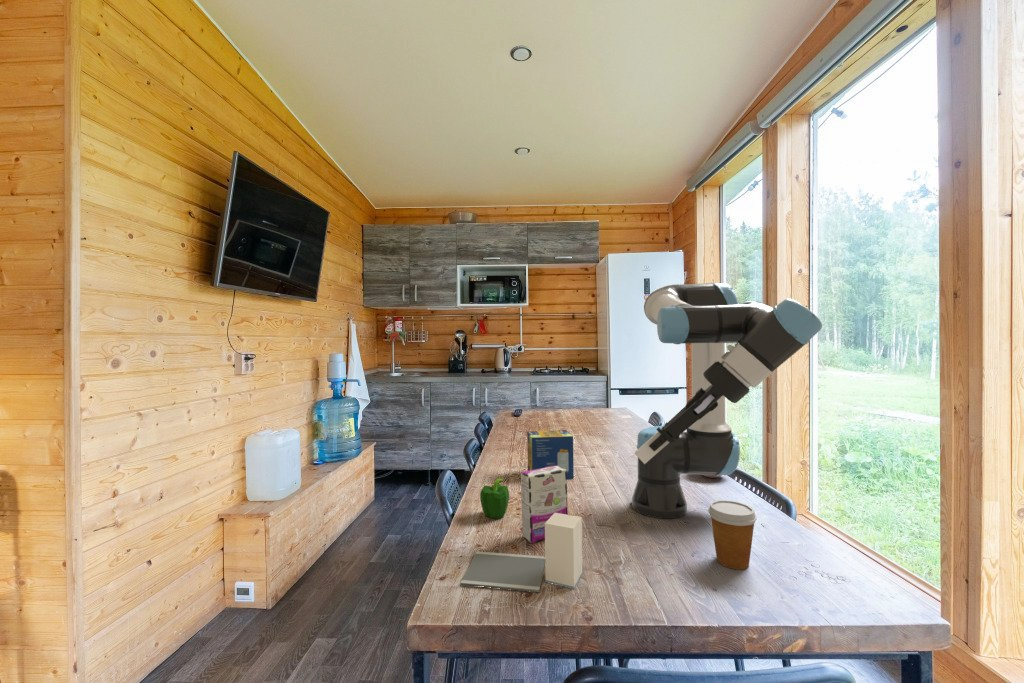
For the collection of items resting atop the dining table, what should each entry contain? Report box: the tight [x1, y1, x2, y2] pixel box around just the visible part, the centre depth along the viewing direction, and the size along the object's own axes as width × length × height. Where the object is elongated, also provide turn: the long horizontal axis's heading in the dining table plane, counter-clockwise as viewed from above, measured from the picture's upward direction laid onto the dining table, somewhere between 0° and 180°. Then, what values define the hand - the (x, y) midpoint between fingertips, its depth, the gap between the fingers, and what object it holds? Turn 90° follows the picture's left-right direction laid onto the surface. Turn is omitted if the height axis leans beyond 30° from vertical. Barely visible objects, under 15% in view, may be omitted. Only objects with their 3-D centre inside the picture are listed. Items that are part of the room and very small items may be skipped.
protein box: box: [526, 429, 575, 480], centre depth 156 cm, size 10×15×16 cm
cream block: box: [544, 513, 584, 590], centre depth 88 cm, size 6×6×12 cm
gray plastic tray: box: [459, 551, 545, 593], centre depth 91 cm, size 16×13×1 cm
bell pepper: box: [479, 478, 510, 520], centre depth 121 cm, size 8×8×10 cm
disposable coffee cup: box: [707, 499, 758, 570], centre depth 94 cm, size 10×10×12 cm
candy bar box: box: [520, 466, 569, 544], centre depth 108 cm, size 11×5×16 cm, turn 118°
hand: (640, 457), depth 84 cm, fingers closed
